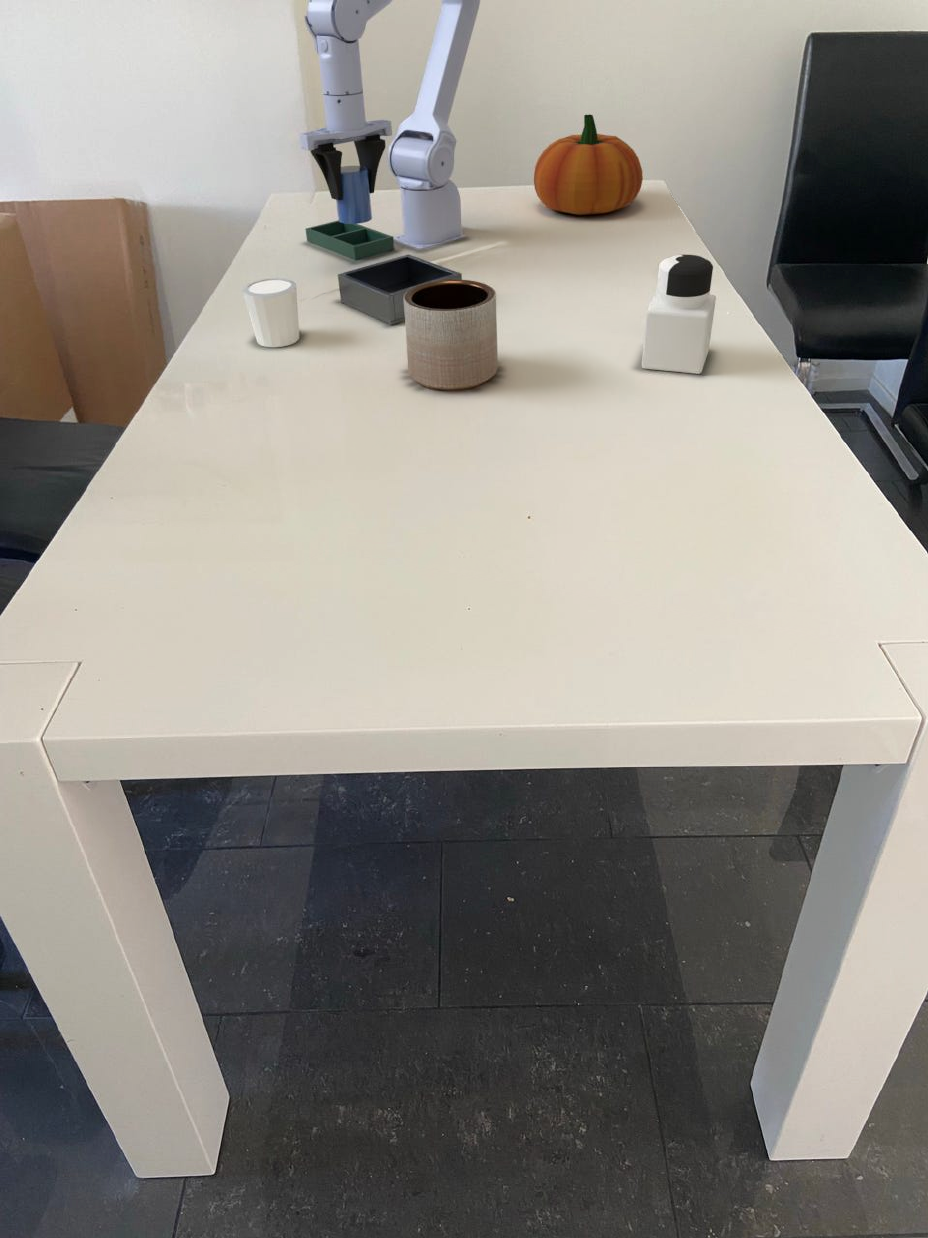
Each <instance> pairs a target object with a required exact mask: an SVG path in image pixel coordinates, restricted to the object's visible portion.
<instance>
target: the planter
mask: <svg viewBox="0 0 928 1238" xmlns="http://www.w3.org/2000/svg"><path fill="white" fill-rule="evenodd" d="M403 299H404V313H405V321H404V325H405V327H404V328H405V340H406V342H405V343H406V358H407V369H408V374H409V377H411V379H412V380H413V381H415V382H416V383H418V384H420V385H422V386H424V387H427V388H431V389H434V390H440V391H441V390H442V391H458V390H465V389H471V388H474V387H477V386H479V385H483V384H484V383H486V382H487V381H488V380H490V379H492V378H493V377H494V376H495V375H496V373H497V371H498V367H499V356H498V354H499V352H498V327H497V326H498V324H497V321H498V320H497V292H496V290H495V289H494V288H493V287H492V286H490V285H489V284H486V283H483V282H480V281H476V280H470V279H468V280H467V279H462V280H458V279H452V280H439V281H432V282H428V283H424V284H421V285H418V286H415V287H413V288H411V289H410V290H408V291H407V292H406V293H405V295H404V298H403Z"/></svg>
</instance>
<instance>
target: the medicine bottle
mask: <svg viewBox="0 0 928 1238" xmlns="http://www.w3.org/2000/svg"><path fill="white" fill-rule="evenodd" d="M713 271H714V265H713V263H712V262H711V261H710V260H709V259H707V258H704V257H703V256H700V255H696V254H675V255H672V256H669V257H667V258H664V259H662V261H661V262H660V263H659V265H658V274H657V275H658V276H657V283H656V285H657V286H656V292H655V294H654V295H653V298H652V300H651V302H650V304H649V305H648V308H647V309H646V314H645V324H644V335H643V345H642V346H643V347H642V358H641V368H642V369H645V370H656V371H667V372H675V373H686V374H696V375H699V374H701V373H702V372H703V369H704V366H705V363H706V359H707V357H708V353H709V351H710V345H711V337H712V329H713V323H714V315H715V310H716V309H715V307H716V303H717V302H716V301H717V296H716V295H715V294H711V287H712V278H713Z"/></svg>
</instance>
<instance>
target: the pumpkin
mask: <svg viewBox="0 0 928 1238" xmlns="http://www.w3.org/2000/svg"><path fill="white" fill-rule="evenodd" d="M583 124H584V125H583V126H584V127H583V128H582V132H581V134H571V135H568V136H565V137H562V138H558V139H556V140H555V141H554V142H552V143H550V144H549V145H548V146H547V147H546V148H545V149H544V150H543V151H542V152H541V154H540V155H539V156H538V158H537V161H536V164H535V166H534V174H533V185H534V190H535V194H536V196H537V197H538V199H539V200H540V202H541V203H542V205H544V206H545V207H546V209H549V210H553V211H557V212H560V213H567V214H571V215H576V216H589V215H603V214H606V213H610V212H613V211H616V210H620V209H621V208H625V207H626V206H628V205H630V204H632V203H633V202H634V200H635V199H636V198H637V197H638V195H639V193H640V191H641V188H642V185H643V178H644V177H643V168H642V165H641V162H640V159H639V156H638V155H637V154H636V152H635V150H634V149H633V148H632V147H631V146H630V145H629V144H628V143H627V142H625V141H624V140H623V139H621V138H620V137H618V136H616V135H609V134H608V135H606V134H601V133H598V132H597V126H596V122H595V118H594V115H593V114H585V115H583Z"/></svg>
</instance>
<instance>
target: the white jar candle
mask: <svg viewBox="0 0 928 1238" xmlns="http://www.w3.org/2000/svg"><path fill="white" fill-rule="evenodd" d="M242 294H243V298H244V301H245V305H246V307H247V312H248V314H249V318H250V321H251V325H252V329H253V332H254V336H255V340H256V342H257V343H258V345H259V346H262V347H264V348H282V347H287V346H291V345H292V344H295V343H297V341H299V340H300V323H299V309H298V294H297V283H296V282H295V281H294V280H292V279H287V278H280V277H279V278H278V277H276V278H264V279H260V280H255V281H252V282H249V283H248V284H246V285H245V286H243V288H242Z"/></svg>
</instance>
